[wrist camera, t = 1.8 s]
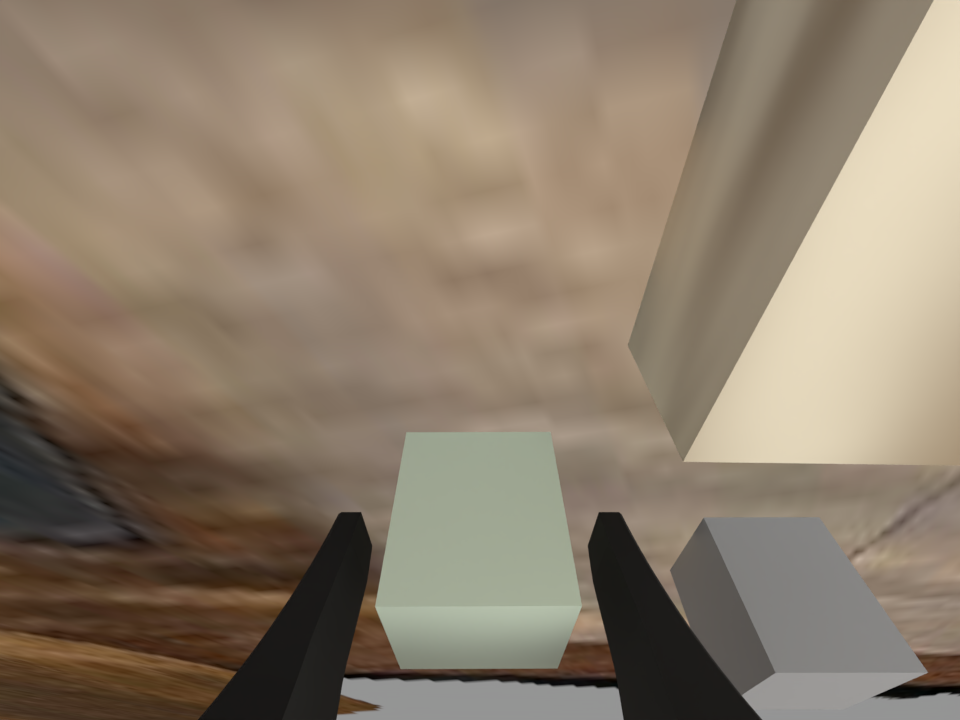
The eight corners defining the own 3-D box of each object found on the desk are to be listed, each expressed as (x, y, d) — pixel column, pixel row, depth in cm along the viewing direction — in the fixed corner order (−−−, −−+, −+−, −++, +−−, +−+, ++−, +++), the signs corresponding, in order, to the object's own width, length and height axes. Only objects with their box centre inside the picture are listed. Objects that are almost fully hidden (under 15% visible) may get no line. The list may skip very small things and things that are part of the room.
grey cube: (669, 568, 19) (719, 709, 15) (703, 516, 16) (775, 672, 12) (767, 568, 19) (842, 709, 15) (818, 515, 16) (927, 672, 12)
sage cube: (420, 509, 16) (400, 668, 12) (406, 431, 13) (375, 607, 9) (537, 509, 16) (557, 668, 12) (550, 430, 13) (582, 606, 9)
